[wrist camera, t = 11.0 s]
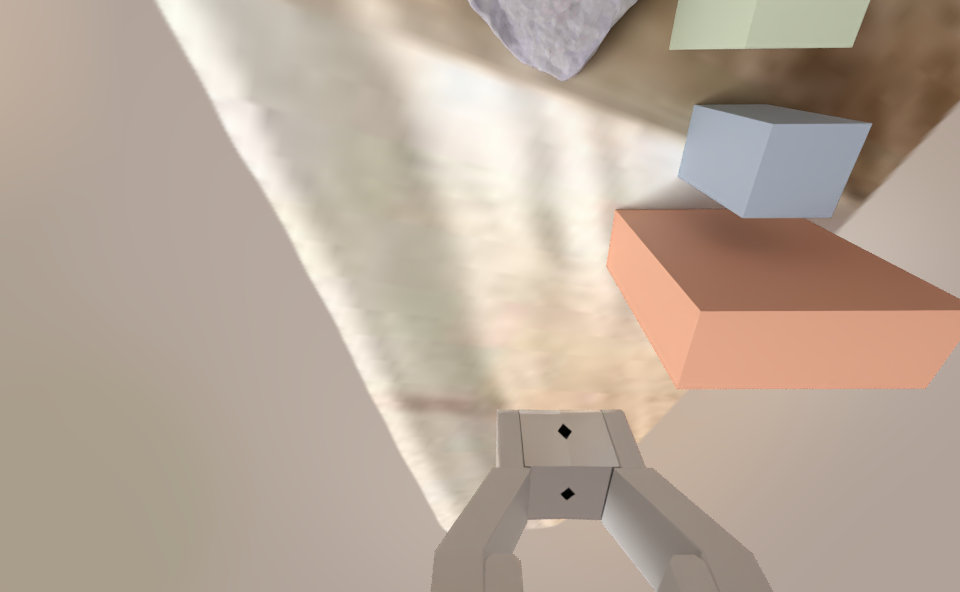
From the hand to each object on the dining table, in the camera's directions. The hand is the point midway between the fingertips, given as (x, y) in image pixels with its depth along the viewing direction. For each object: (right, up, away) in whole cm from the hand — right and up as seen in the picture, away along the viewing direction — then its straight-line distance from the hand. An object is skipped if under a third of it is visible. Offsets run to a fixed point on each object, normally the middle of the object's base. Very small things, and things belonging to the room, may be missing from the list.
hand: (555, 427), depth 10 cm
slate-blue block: (+19, +17, +26) cm, 36 cm away
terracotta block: (+19, +9, +31) cm, 37 cm away
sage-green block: (+16, +25, +21) cm, 37 cm away
